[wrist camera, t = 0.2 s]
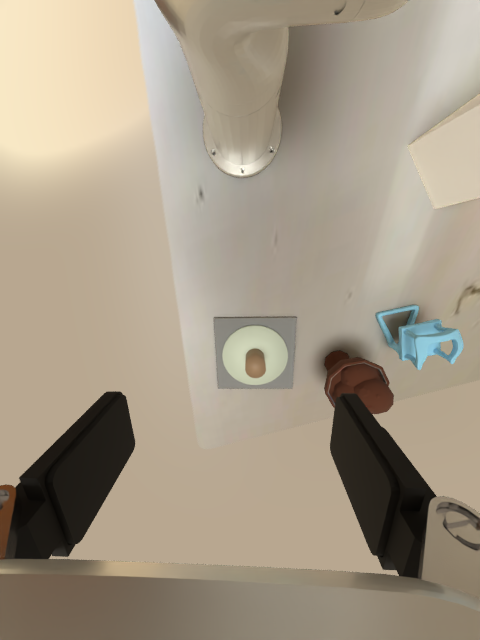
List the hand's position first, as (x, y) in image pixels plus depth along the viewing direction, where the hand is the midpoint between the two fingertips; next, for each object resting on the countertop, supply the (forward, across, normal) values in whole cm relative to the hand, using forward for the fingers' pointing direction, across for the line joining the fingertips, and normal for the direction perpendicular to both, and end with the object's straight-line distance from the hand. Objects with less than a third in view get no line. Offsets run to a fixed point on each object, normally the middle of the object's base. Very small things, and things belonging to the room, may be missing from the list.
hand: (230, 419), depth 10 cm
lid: (+36, -2, +15) cm, 39 cm away
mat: (+36, -2, +15) cm, 39 cm away
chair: (+37, -31, +9) cm, 49 cm away
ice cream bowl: (+37, -20, +17) cm, 45 cm away
